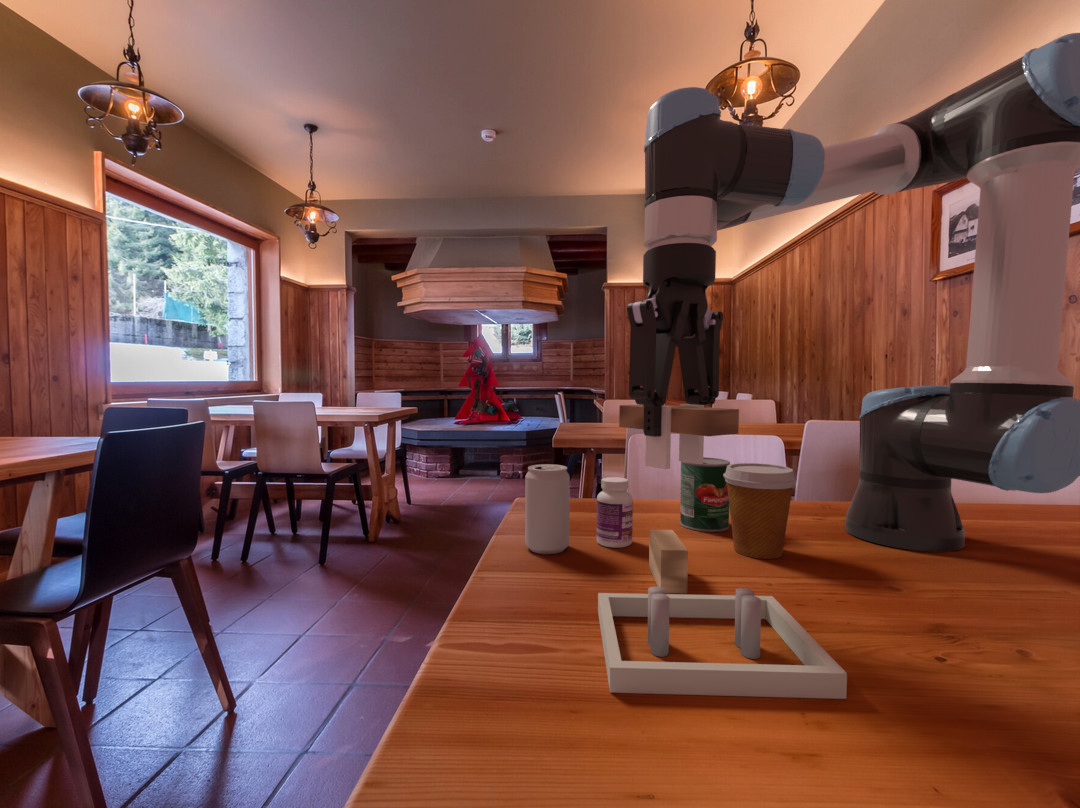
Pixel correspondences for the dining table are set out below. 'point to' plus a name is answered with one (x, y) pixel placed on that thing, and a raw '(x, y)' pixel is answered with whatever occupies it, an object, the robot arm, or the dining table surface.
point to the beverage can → (547, 508)
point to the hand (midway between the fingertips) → (674, 464)
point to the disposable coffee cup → (759, 507)
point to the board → (687, 420)
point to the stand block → (668, 561)
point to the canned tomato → (704, 495)
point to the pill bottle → (614, 513)
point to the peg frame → (717, 678)
